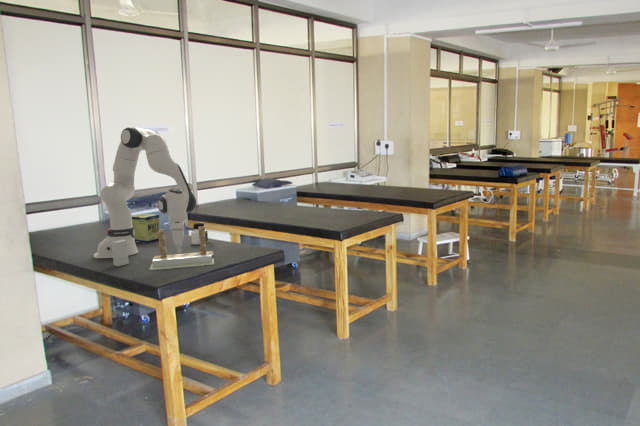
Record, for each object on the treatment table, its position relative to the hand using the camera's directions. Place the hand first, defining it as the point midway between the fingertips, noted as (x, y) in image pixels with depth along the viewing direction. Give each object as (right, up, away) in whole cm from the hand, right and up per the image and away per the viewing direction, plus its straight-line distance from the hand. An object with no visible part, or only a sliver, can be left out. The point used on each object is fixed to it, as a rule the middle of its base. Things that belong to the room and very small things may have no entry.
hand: (179, 250), depth 248 cm
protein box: (-37, +1, +62) cm, 72 cm away
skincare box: (-31, -8, +6) cm, 32 cm away
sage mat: (+1, -7, +2) cm, 7 cm away
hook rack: (-3, -5, +17) cm, 18 cm away
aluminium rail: (+1, -7, +1) cm, 7 cm away
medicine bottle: (-2, 0, +49) cm, 50 cm away
